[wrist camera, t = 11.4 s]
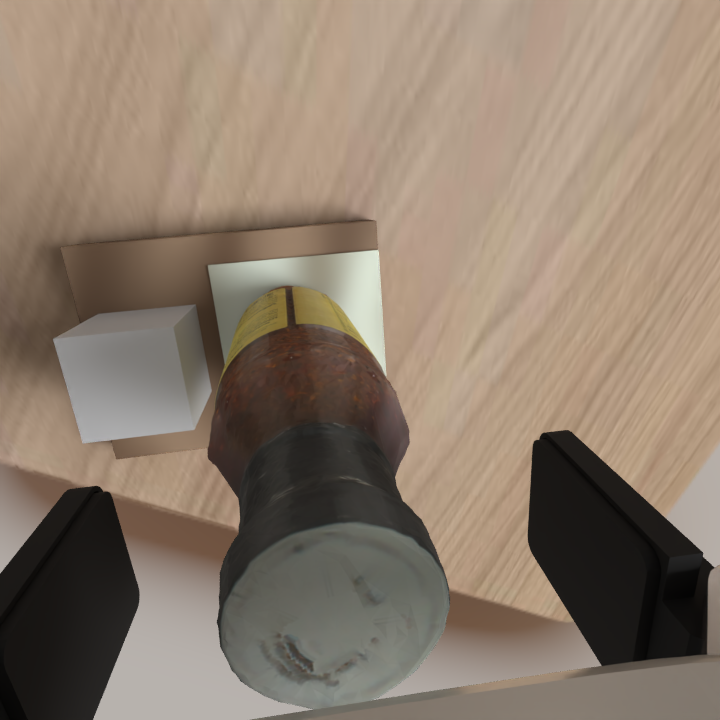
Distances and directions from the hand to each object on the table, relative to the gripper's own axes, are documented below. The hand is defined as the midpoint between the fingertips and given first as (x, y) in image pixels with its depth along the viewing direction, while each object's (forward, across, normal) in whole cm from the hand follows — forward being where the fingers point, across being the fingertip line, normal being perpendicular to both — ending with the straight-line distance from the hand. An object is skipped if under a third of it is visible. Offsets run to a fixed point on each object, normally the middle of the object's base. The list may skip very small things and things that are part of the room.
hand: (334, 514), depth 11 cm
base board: (+19, +4, +1) cm, 20 cm away
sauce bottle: (+17, +1, +1) cm, 17 cm away
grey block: (+17, +9, +1) cm, 19 cm away
